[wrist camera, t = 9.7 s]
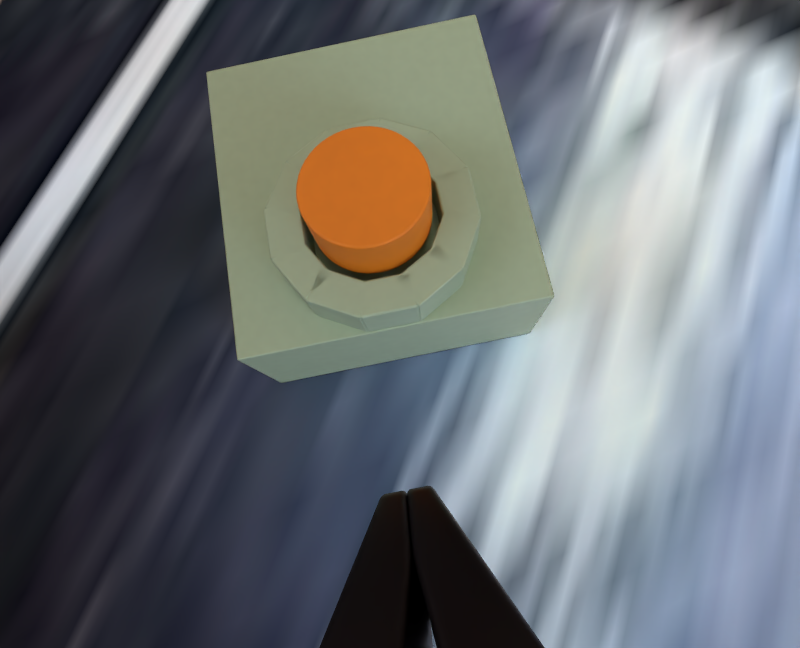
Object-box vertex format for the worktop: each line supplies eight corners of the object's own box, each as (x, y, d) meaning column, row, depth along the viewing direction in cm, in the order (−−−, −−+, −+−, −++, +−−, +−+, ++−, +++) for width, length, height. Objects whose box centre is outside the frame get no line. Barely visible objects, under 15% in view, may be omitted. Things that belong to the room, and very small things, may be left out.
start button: (443, 260, 17) (444, 232, 15) (321, 285, 17) (305, 261, 15) (419, 153, 18) (416, 112, 16) (304, 177, 18) (286, 139, 16)
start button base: (530, 333, 23) (567, 278, 16) (280, 383, 23) (215, 349, 17) (469, 100, 26) (478, -27, 19) (250, 146, 26) (185, 36, 20)
